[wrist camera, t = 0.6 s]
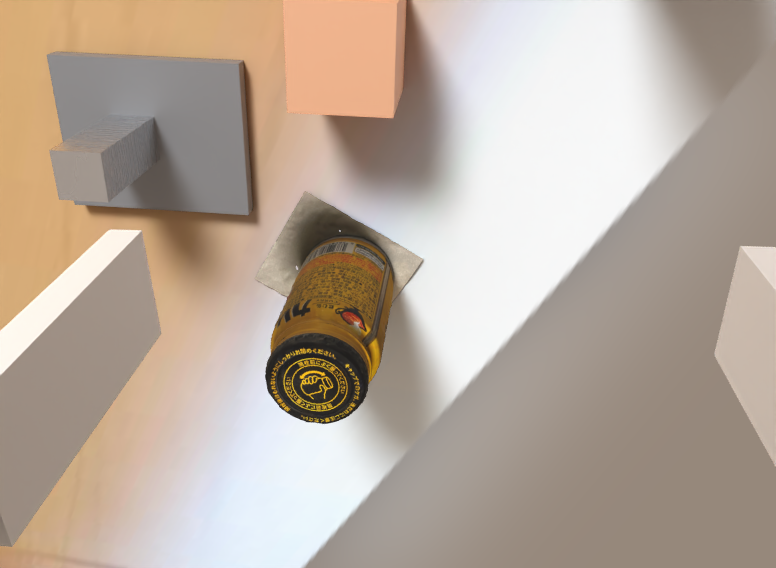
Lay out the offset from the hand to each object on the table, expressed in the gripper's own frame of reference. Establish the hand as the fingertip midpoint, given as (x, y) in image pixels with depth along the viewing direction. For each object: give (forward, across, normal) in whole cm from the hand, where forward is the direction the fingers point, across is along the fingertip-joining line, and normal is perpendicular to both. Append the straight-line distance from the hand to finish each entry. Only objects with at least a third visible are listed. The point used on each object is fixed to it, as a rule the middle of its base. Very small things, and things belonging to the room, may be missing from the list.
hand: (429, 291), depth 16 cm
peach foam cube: (+27, -5, +1) cm, 27 cm away
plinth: (+27, -17, -4) cm, 32 cm away
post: (+27, -18, -4) cm, 33 cm away
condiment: (+27, -7, -13) cm, 31 cm away
